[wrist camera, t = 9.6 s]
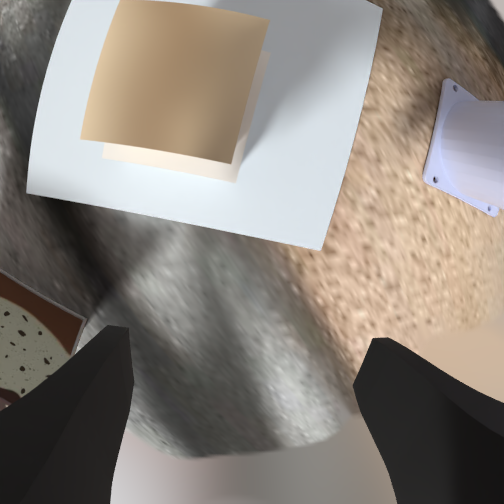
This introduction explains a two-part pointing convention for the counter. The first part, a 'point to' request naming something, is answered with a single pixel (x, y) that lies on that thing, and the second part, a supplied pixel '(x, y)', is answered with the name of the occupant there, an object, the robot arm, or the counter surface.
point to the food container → (32, 338)
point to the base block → (193, 163)
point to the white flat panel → (260, 134)
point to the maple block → (174, 78)
